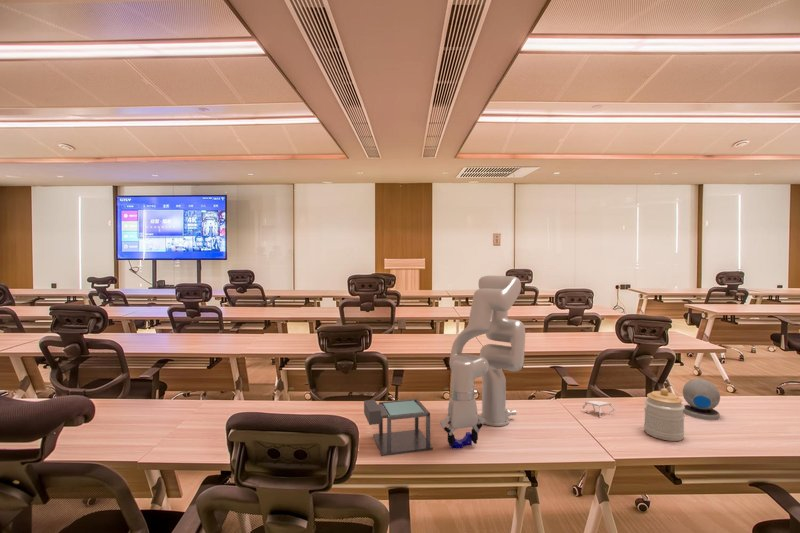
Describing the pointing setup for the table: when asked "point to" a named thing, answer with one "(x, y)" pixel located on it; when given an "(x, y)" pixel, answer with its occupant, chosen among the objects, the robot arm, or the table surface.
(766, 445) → the table surface
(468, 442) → the cable holder
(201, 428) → the table surface
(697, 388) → the webcam
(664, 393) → the jar
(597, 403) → the white legged frame
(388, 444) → the stand
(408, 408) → the trapdoor
